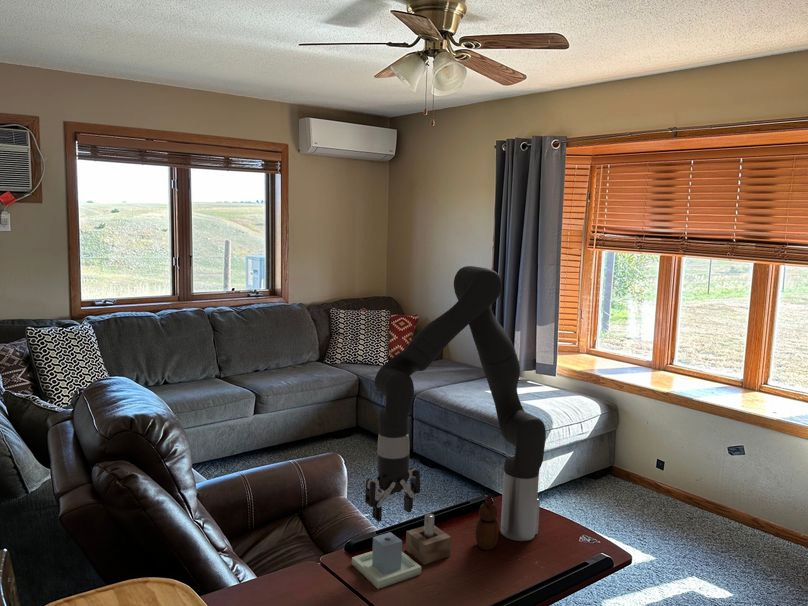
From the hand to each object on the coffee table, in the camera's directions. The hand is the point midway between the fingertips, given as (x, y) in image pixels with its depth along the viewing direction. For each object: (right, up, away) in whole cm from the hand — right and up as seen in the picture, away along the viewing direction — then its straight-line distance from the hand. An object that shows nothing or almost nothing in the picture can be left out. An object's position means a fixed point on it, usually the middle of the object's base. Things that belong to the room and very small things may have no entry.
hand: (393, 515), depth 154 cm
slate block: (-1, -12, -1) cm, 12 cm away
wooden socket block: (+9, -12, +7) cm, 16 cm away
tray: (-2, -12, -1) cm, 13 cm away
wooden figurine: (+24, -12, +11) cm, 29 cm away
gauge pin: (+9, -12, +7) cm, 16 cm away
